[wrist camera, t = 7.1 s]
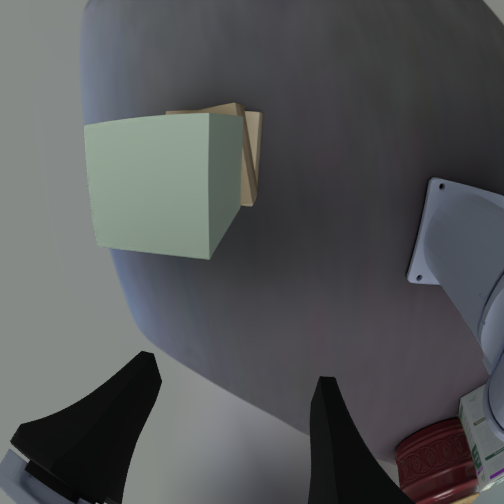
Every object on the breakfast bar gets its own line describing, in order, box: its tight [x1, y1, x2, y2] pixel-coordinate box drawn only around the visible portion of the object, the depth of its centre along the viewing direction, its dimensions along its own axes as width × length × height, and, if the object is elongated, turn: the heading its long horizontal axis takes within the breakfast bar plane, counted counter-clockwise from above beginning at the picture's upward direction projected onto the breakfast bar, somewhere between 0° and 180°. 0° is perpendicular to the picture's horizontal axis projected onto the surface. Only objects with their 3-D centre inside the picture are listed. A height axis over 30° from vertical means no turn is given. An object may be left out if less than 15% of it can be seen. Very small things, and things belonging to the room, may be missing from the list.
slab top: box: [185, 103, 258, 205], centre depth 14 cm, size 5×5×2 cm
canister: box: [395, 419, 480, 504], centre depth 22 cm, size 13×13×18 cm
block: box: [84, 113, 243, 260], centre depth 11 cm, size 4×4×6 cm
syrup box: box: [459, 384, 504, 492], centre depth 18 cm, size 6×6×14 cm
